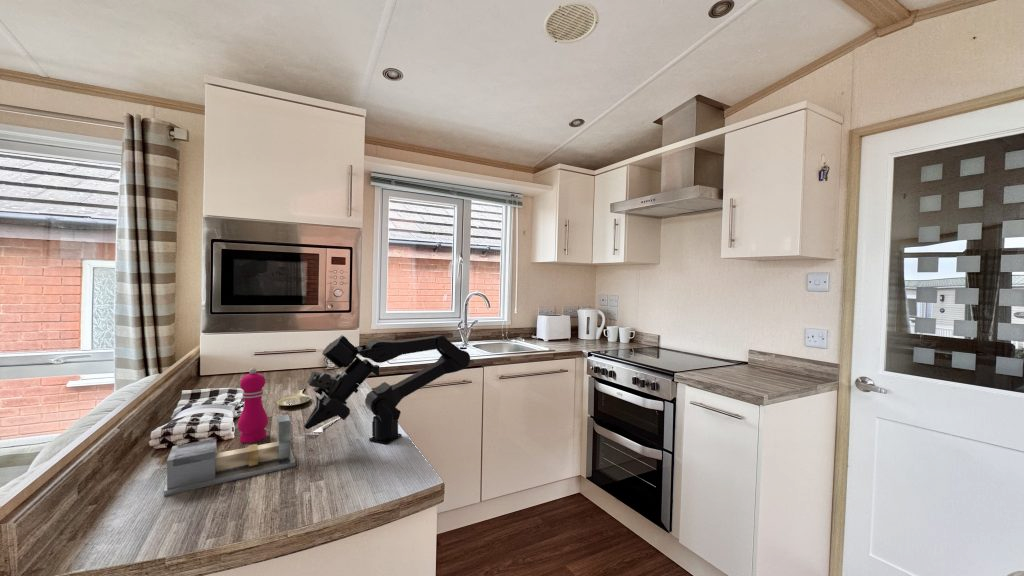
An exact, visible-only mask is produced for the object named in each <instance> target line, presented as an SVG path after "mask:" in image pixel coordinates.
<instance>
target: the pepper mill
mask: <svg viewBox="0 0 1024 576" xmlns="http://www.w3.org/2000/svg"><path fill="white" fill-rule="evenodd" d="M265 385H266V377H265V376H264V375H263V374H261V373H258V372H257V368H255V367H251V368H250V369H249V370H248V374H245V375H244V376H242V377H241V380H240V382H239V387H240V388H241V390H243V391H242V396H241V397H242V398H243V401H244V403H243V409H242V411H241V414H240V416H239V418H238V421H237V429H238V431H240V432H241V433H240V434H239V442H240V443H243V444H251V443H257V442H260V441H263V440H265V439H266V438H267V429H266V428H267V426H268V424H269V417H268V415H267V414H268V413H266V410H265V409H264V406H263V400H262V398H263V395H264V389H263V388H264V387H265Z"/></svg>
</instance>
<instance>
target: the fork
mask: <svg viewBox="0 0 1024 576" xmlns="http://www.w3.org/2000/svg"><path fill="white" fill-rule="evenodd" d="M338 419H339V420H341V419H340V417H339V416H338V417H337V418H336V419H334V420H331V421H329V422H327V423H325V424H324V425H321V426H320V427H317V428H316V429H315V430H313V431H312V432H322V433H323V432H324V429H327V428H328V427H329V425H330V426H331V424H332V423H333V424H335V423H336V422H337V421H336V420H338ZM339 420H338V421H339ZM335 421H336V422H335ZM334 422H335V423H334ZM333 424H332V425H333ZM312 432H306V433H305V432H303V434H304V435H307V436H319V435H320V434H314V433H313V434H312Z"/></svg>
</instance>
